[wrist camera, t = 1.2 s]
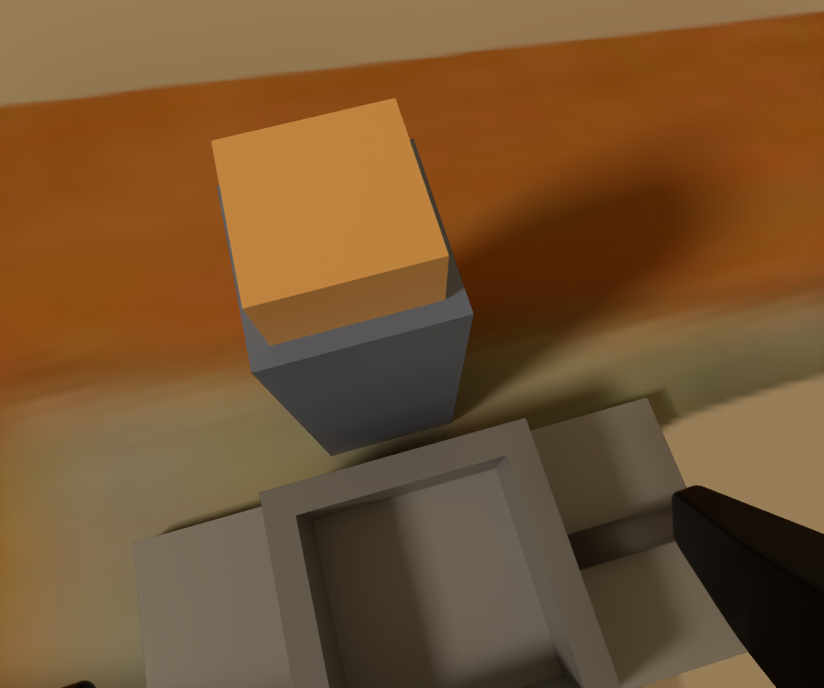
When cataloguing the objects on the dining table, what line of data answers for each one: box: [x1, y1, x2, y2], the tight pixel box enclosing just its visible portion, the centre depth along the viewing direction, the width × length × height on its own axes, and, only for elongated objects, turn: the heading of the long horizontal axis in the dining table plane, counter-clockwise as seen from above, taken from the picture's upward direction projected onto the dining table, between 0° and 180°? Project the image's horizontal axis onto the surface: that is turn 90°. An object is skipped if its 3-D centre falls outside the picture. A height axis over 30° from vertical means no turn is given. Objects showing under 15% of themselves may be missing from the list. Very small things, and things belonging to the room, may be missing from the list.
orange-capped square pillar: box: [211, 98, 473, 456], centre depth 17 cm, size 5×5×13 cm
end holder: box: [133, 398, 748, 688], centre depth 19 cm, size 9×20×4 cm, turn 105°
